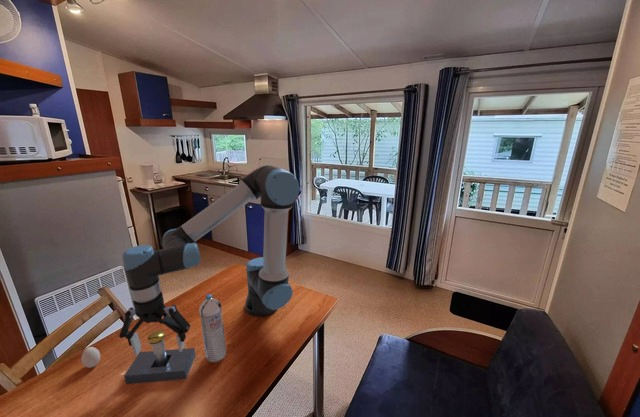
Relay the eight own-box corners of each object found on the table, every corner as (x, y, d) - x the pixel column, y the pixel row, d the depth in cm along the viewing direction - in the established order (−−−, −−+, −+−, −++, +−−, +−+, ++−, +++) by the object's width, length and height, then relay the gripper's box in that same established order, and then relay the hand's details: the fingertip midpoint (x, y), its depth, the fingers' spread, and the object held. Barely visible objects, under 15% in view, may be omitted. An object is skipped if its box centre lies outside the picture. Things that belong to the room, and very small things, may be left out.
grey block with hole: (195, 355, 92) (194, 347, 91) (186, 378, 84) (184, 370, 82) (141, 359, 90) (139, 352, 89) (126, 384, 81) (123, 375, 80)
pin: (173, 362, 89) (167, 329, 85) (167, 374, 85) (160, 340, 81) (159, 363, 89) (152, 330, 85) (152, 375, 84) (144, 341, 80)
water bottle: (207, 366, 88) (198, 304, 81) (205, 351, 94) (196, 292, 86) (227, 359, 91) (221, 298, 84) (225, 345, 97) (218, 287, 89)
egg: (85, 364, 88) (79, 346, 86) (102, 357, 91) (97, 340, 89) (83, 374, 84) (77, 356, 82) (101, 367, 87) (96, 349, 85)
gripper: (194, 285, 83) (203, 338, 90) (111, 290, 80) (126, 344, 87) (186, 300, 76) (196, 356, 82) (93, 306, 73) (111, 363, 80)
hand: (160, 350), depth 85 cm, fingers open, 13 cm apart
